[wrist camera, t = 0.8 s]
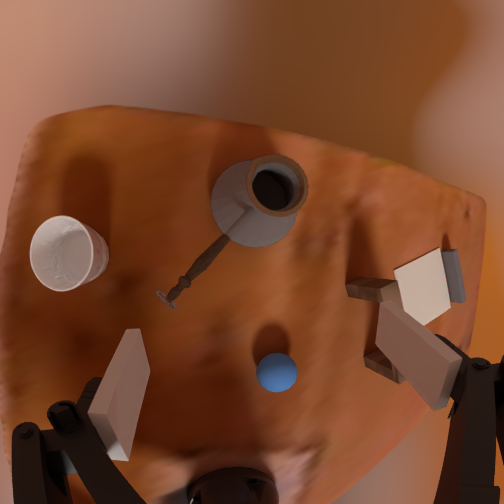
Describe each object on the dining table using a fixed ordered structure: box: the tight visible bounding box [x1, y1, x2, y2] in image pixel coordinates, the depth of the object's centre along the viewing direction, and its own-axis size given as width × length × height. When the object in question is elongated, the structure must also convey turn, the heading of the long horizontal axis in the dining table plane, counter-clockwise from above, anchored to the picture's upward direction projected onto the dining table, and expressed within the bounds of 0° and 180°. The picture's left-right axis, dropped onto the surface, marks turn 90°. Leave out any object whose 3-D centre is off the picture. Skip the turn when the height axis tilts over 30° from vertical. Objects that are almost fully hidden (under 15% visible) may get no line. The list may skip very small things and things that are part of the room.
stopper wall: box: [441, 249, 466, 303], centre depth 49 cm, size 10×2×3 cm, turn 19°
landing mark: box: [394, 248, 451, 326], centre depth 49 cm, size 12×12×1 cm
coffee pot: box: [157, 154, 308, 310], centre depth 35 cm, size 21×12×15 cm, turn 136°
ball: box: [256, 353, 297, 392], centre depth 40 cm, size 6×6×6 cm
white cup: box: [30, 216, 109, 291], centre depth 33 cm, size 8×8×10 cm
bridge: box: [345, 277, 407, 384], centre depth 42 cm, size 14×3×9 cm, turn 19°
